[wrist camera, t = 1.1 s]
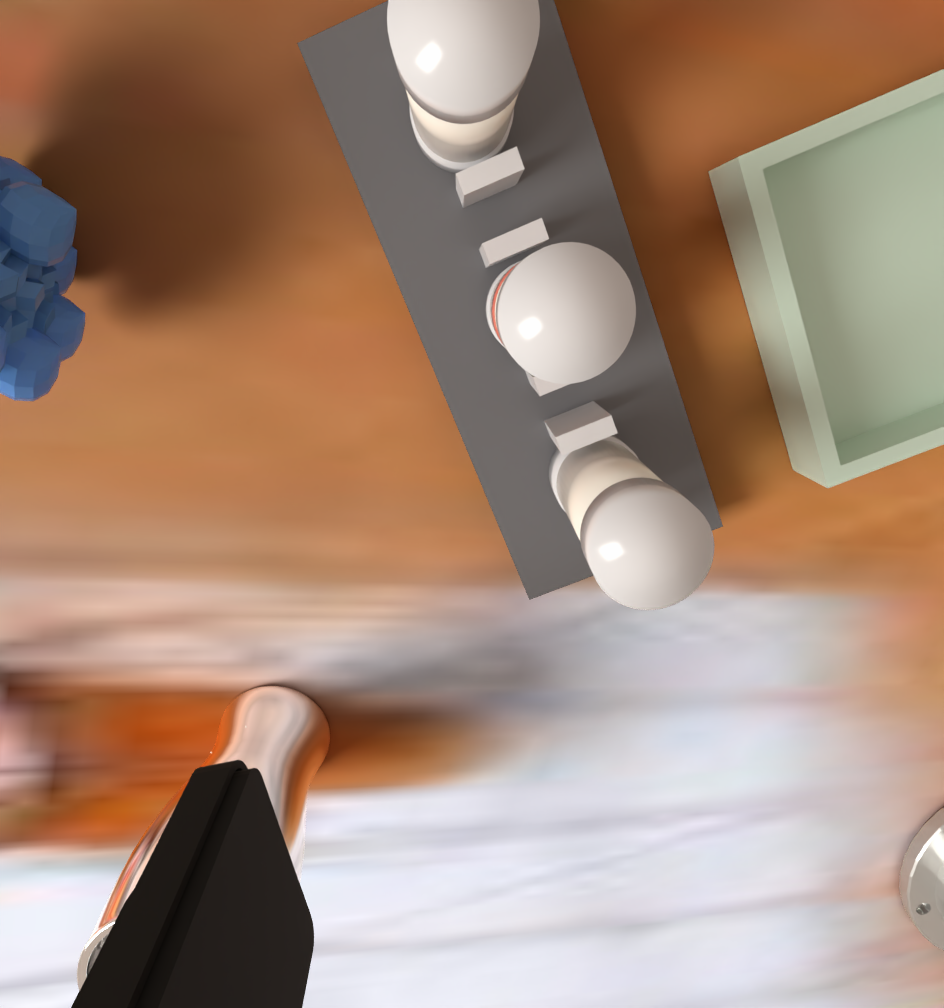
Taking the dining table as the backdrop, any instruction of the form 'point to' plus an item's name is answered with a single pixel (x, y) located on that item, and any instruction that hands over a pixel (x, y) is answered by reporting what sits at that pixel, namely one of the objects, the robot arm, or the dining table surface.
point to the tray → (847, 279)
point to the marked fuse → (563, 312)
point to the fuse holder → (483, 256)
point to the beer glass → (259, 744)
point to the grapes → (35, 284)
